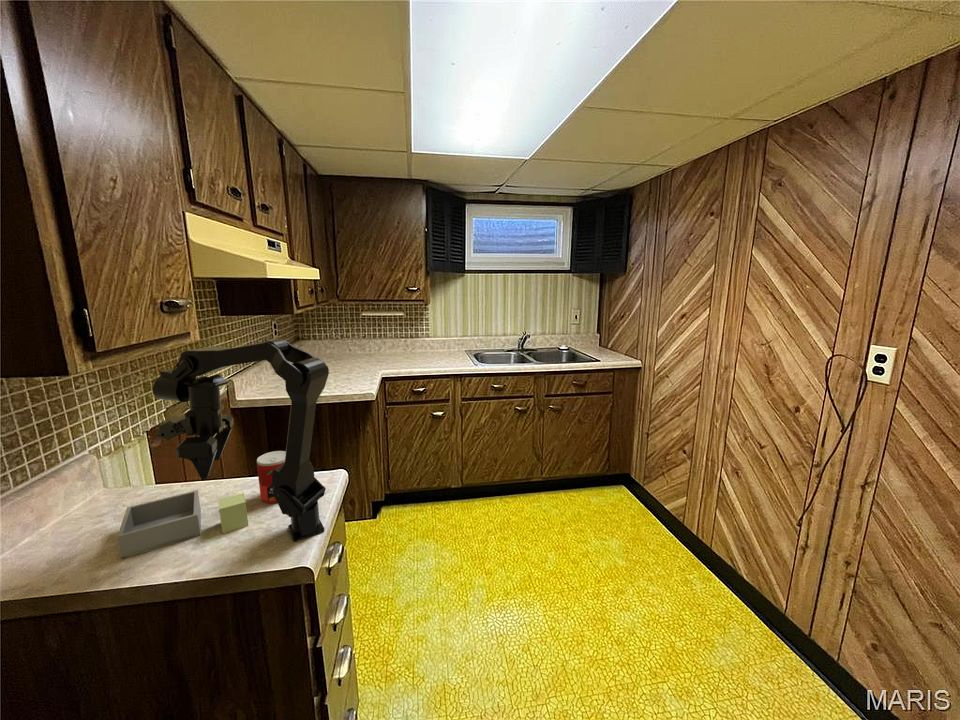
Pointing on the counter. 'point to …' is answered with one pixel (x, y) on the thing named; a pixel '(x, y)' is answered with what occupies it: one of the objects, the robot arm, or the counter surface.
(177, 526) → the grey bin
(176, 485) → the counter surface
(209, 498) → the counter surface
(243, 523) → the green block
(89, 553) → the counter surface
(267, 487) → the canned food
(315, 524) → the robot arm
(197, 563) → the counter surface
